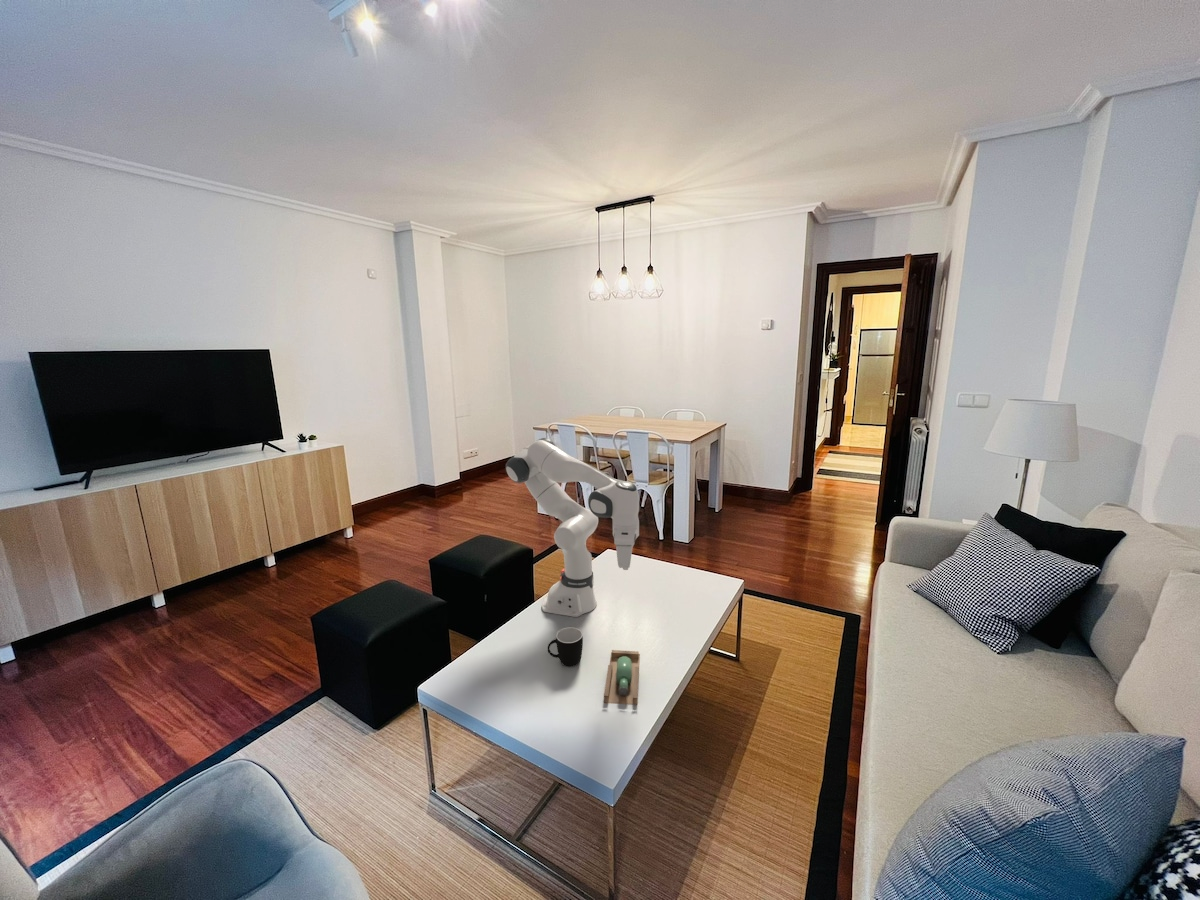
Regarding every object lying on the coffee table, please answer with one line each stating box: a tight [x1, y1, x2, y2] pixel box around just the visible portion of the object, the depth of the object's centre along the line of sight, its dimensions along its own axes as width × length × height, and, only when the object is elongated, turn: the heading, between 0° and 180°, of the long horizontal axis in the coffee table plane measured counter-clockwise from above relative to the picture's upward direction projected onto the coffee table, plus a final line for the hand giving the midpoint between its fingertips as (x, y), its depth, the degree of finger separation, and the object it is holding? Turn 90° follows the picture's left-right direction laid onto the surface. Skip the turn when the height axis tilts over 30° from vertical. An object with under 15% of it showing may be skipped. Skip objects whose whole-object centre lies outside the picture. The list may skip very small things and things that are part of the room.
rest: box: [603, 649, 641, 706], centre depth 155 cm, size 10×24×3 cm, turn 173°
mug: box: [547, 626, 584, 668], centre depth 162 cm, size 12×9×10 cm
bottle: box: [616, 656, 632, 697], centre depth 151 cm, size 5×5×14 cm
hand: (625, 568), depth 163 cm, fingers closed
